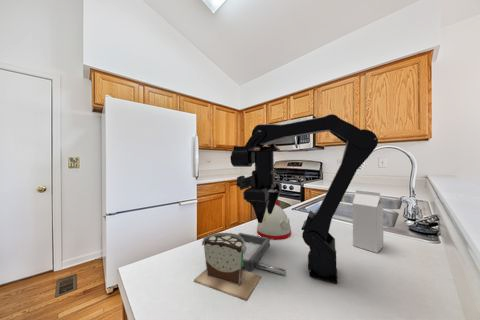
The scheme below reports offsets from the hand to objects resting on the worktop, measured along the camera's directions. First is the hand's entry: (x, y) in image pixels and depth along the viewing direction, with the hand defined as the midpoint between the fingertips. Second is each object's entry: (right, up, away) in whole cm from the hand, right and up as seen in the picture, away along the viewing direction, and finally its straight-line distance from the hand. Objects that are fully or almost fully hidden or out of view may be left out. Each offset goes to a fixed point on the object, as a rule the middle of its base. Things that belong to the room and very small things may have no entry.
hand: (265, 217), depth 57 cm
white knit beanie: (+6, -13, +21) cm, 25 cm away
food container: (-11, -13, -7) cm, 18 cm away
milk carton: (+37, -12, +8) cm, 39 cm away
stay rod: (0, -13, -5) cm, 14 cm away
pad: (-11, -13, -9) cm, 19 cm away
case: (-6, -13, +5) cm, 15 cm away
